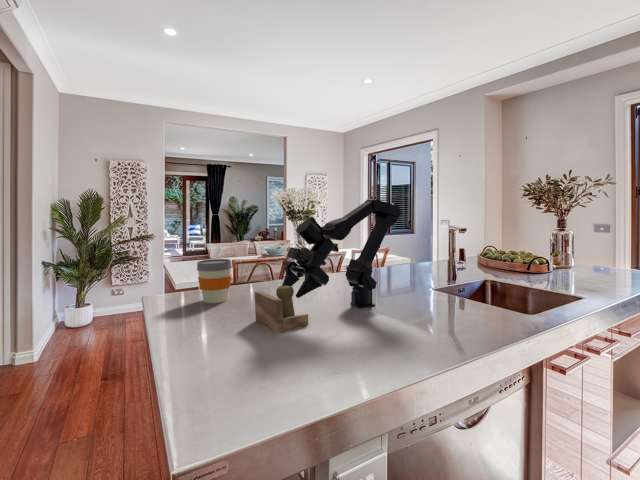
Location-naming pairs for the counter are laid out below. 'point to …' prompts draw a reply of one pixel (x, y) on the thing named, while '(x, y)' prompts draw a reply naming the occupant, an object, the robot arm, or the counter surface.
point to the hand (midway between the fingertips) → (288, 294)
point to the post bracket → (275, 313)
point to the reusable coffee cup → (214, 279)
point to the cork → (286, 300)
